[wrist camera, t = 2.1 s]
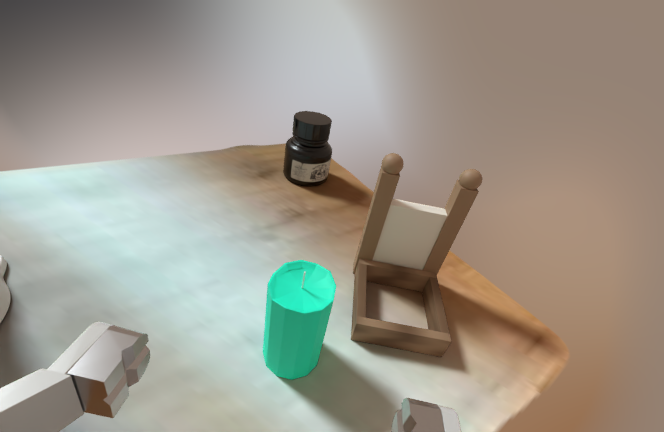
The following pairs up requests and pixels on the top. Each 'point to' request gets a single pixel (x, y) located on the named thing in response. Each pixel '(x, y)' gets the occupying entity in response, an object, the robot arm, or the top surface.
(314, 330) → the candle
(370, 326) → the shallow open wooden box
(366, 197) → the top surface
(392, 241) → the headboard
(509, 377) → the top surface
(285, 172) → the ink bottle
